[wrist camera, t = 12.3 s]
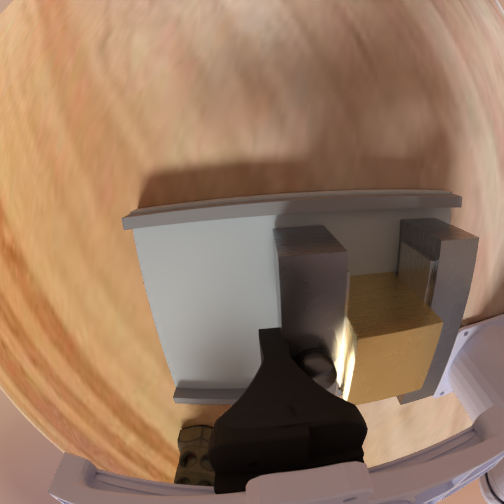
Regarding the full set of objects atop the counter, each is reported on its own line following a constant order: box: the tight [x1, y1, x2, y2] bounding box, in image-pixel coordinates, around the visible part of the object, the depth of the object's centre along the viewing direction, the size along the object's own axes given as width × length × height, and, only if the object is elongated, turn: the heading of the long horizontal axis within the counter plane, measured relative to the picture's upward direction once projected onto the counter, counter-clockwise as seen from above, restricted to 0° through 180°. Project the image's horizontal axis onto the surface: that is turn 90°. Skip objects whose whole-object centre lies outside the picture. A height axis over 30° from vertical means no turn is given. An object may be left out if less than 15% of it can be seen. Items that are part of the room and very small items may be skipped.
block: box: [339, 271, 444, 405], centre depth 12 cm, size 4×4×6 cm
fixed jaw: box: [396, 218, 479, 405], centre depth 13 cm, size 3×10×4 cm, turn 5°
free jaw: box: [272, 225, 350, 396], centre depth 13 cm, size 3×10×5 cm, turn 5°
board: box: [122, 189, 462, 405], centre depth 15 cm, size 18×13×2 cm
